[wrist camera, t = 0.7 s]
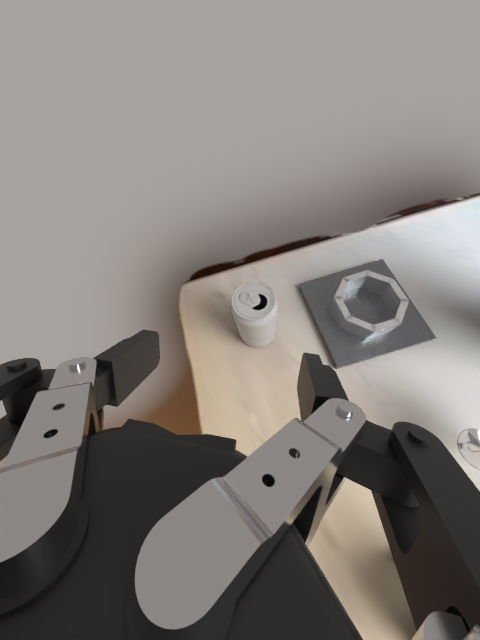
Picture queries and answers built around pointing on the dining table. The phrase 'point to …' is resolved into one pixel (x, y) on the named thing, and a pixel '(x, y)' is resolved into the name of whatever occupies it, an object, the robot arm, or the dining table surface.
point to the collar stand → (363, 314)
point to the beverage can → (255, 313)
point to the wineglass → (470, 446)
